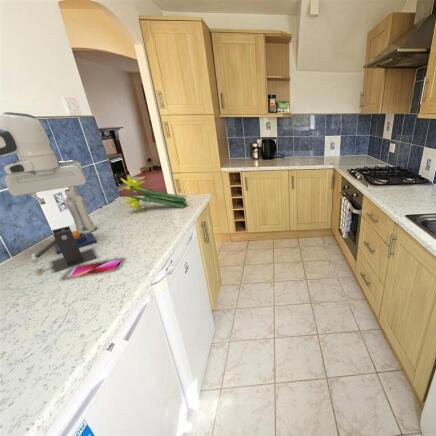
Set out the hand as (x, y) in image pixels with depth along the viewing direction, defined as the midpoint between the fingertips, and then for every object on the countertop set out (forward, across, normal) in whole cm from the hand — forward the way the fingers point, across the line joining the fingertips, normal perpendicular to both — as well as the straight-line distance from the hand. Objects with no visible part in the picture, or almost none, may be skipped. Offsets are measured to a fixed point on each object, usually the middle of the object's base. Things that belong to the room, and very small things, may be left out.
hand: (57, 201), depth 89 cm
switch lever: (+12, +5, +15) cm, 20 cm away
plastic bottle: (+19, -5, -12) cm, 23 cm away
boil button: (+15, 0, 0) cm, 15 cm away
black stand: (+19, +2, +15) cm, 24 cm away
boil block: (+19, 0, 0) cm, 19 cm away
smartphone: (+19, -2, +27) cm, 33 cm away
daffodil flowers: (+19, -38, -22) cm, 48 cm away
